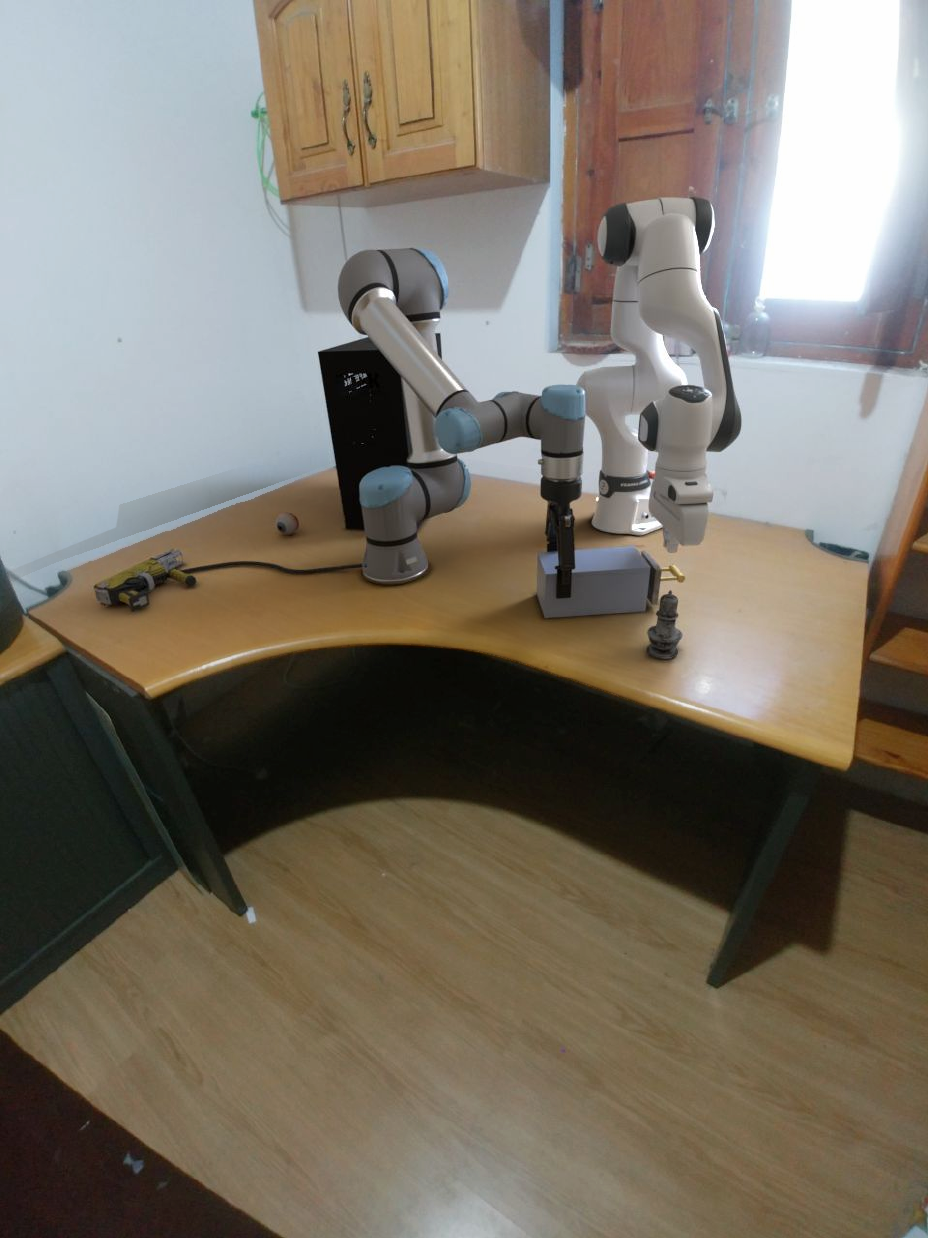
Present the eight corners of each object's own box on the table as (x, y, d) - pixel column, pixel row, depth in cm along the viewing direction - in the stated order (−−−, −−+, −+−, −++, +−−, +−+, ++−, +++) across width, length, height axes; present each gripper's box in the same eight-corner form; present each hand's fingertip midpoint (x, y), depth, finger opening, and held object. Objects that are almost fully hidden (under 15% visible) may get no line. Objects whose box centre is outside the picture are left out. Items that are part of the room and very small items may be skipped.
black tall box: (415, 531, 162) (398, 349, 139) (345, 528, 166) (317, 351, 144) (450, 487, 193) (440, 332, 171) (390, 485, 198) (373, 335, 175)
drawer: (669, 582, 127) (674, 548, 123) (685, 602, 119) (691, 567, 116) (555, 590, 127) (555, 556, 123) (563, 611, 119) (564, 576, 115)
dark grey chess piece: (681, 660, 104) (691, 599, 98) (646, 658, 105) (653, 597, 99) (678, 642, 108) (687, 583, 102) (644, 640, 110) (651, 581, 104)
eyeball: (273, 537, 164) (268, 516, 161) (287, 528, 169) (282, 508, 166) (291, 539, 161) (286, 518, 158) (305, 530, 166) (301, 510, 163)
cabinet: (630, 587, 128) (634, 545, 123) (645, 611, 119) (650, 567, 114) (536, 594, 128) (537, 552, 123) (544, 618, 119) (545, 574, 114)
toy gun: (219, 557, 146) (169, 546, 150) (142, 598, 126) (87, 585, 129) (222, 574, 148) (172, 563, 152) (147, 618, 128) (92, 604, 132)
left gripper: (531, 460, 120) (531, 562, 131) (552, 497, 100) (549, 613, 111) (569, 458, 120) (565, 559, 131) (596, 494, 100) (589, 610, 111)
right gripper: (644, 466, 120) (637, 532, 127) (681, 498, 102) (672, 572, 109) (675, 464, 120) (667, 530, 127) (718, 496, 103) (706, 570, 109)
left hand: (558, 584), depth 121 cm, fingers closed on cabinet, 10 cm apart
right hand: (669, 550), depth 118 cm, fingers closed
